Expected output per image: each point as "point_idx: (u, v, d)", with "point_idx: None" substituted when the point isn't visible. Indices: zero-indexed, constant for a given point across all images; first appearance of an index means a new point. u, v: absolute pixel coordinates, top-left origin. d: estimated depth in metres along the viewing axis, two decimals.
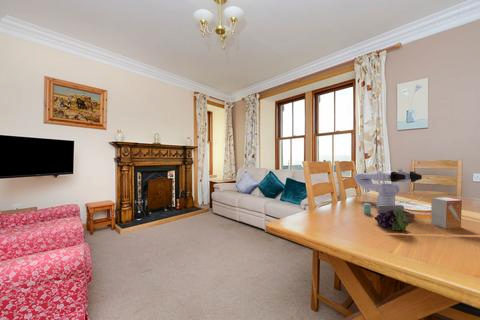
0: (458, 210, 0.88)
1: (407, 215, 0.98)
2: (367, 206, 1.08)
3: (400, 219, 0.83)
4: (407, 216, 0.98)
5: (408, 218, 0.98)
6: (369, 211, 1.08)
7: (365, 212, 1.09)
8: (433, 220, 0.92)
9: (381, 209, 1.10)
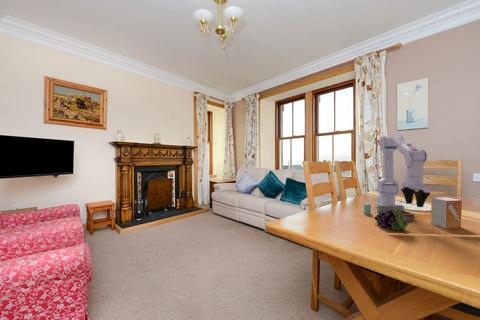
0: (457, 210, 0.88)
1: (407, 215, 0.98)
2: (367, 206, 1.08)
3: (399, 219, 0.83)
4: (407, 216, 0.98)
5: (408, 218, 0.98)
6: (369, 211, 1.08)
7: (365, 212, 1.09)
8: (433, 220, 0.92)
9: (381, 209, 1.10)
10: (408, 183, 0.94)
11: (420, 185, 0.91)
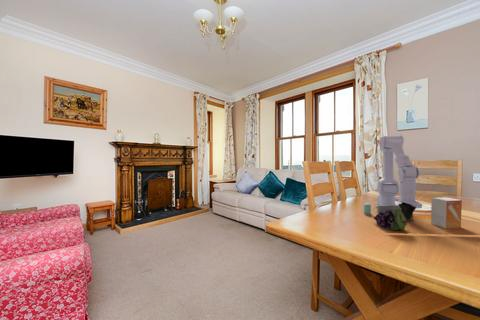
0: (457, 210, 0.88)
1: None
2: (367, 206, 1.08)
3: (399, 219, 0.84)
4: None
5: None
6: (369, 211, 1.08)
7: (365, 212, 1.09)
8: (433, 220, 0.92)
9: (381, 209, 1.10)
10: (401, 198, 0.98)
11: (412, 200, 0.95)
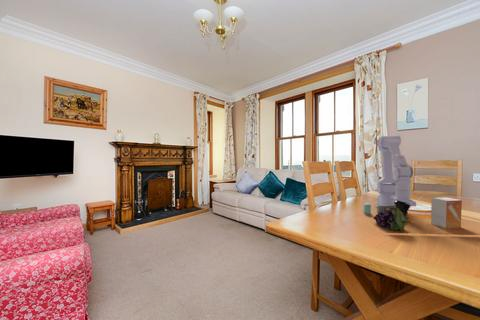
0: (457, 210, 0.88)
1: None
2: (367, 206, 1.08)
3: (398, 218, 0.84)
4: None
5: None
6: (369, 211, 1.08)
7: (365, 212, 1.09)
8: (433, 220, 0.92)
9: (381, 209, 1.10)
10: (396, 196, 1.01)
11: (407, 198, 0.98)
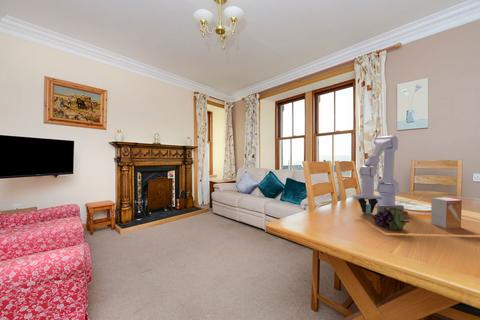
0: (457, 210, 0.88)
1: (401, 212, 1.03)
2: (367, 206, 1.08)
3: (397, 218, 0.84)
4: None
5: None
6: (369, 211, 1.08)
7: (365, 212, 1.09)
8: (433, 220, 0.92)
9: (381, 209, 1.10)
10: (370, 195, 1.07)
11: None
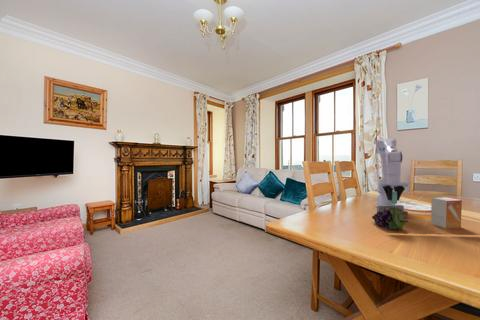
0: (457, 210, 0.88)
1: (401, 212, 1.03)
2: (393, 193, 1.05)
3: (397, 218, 0.84)
4: None
5: None
6: (395, 199, 1.05)
7: (391, 200, 1.06)
8: (433, 220, 0.92)
9: (381, 209, 1.10)
10: (397, 181, 1.03)
11: None
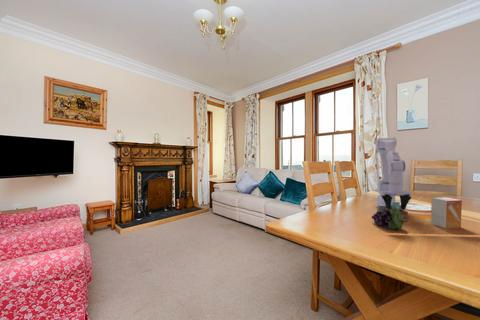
0: (457, 210, 0.88)
1: (401, 212, 1.03)
2: (396, 204, 1.05)
3: (396, 218, 0.85)
4: (401, 213, 1.03)
5: None
6: (398, 209, 1.05)
7: None
8: (433, 220, 0.92)
9: (381, 209, 1.10)
10: (399, 190, 1.03)
11: None
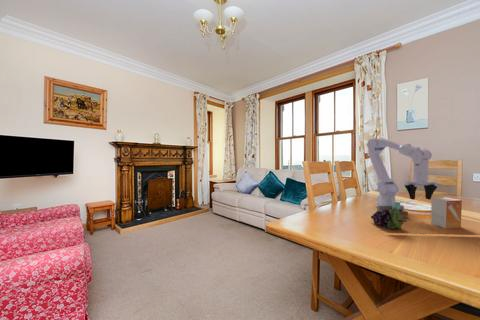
0: (457, 210, 0.88)
1: (401, 212, 1.03)
2: (396, 204, 1.05)
3: (395, 218, 0.85)
4: (401, 213, 1.03)
5: (401, 215, 1.03)
6: (398, 209, 1.05)
7: None
8: (433, 220, 0.92)
9: (381, 209, 1.10)
10: (425, 180, 1.01)
11: None
